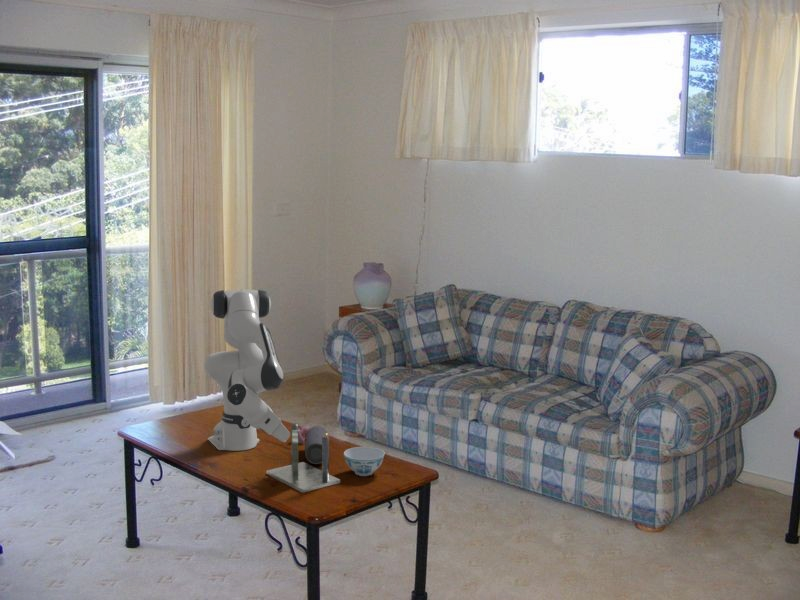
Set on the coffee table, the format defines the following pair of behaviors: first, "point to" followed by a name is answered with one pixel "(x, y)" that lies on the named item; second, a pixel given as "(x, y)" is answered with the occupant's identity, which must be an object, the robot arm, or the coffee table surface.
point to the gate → (295, 454)
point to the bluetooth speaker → (314, 444)
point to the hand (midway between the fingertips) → (276, 431)
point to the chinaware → (364, 459)
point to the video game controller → (300, 434)
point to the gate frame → (307, 471)
